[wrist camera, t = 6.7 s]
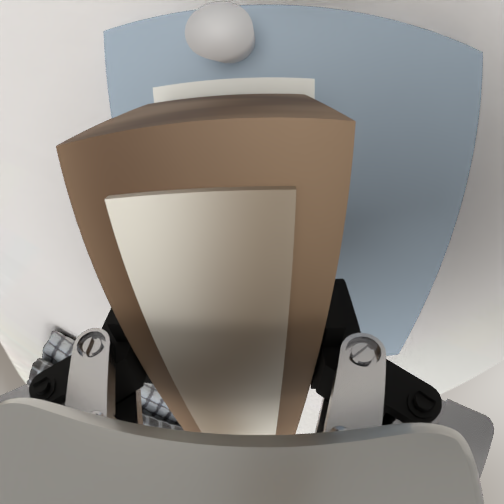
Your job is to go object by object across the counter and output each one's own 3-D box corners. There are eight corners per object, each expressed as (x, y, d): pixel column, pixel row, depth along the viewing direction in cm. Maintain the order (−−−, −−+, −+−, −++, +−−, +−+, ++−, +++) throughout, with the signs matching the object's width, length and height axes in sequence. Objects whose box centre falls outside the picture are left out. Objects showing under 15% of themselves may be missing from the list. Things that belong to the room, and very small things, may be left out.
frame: (304, 94, 8) (358, 123, 4) (288, 355, 15) (294, 440, 11) (147, 104, 8) (51, 148, 4) (199, 354, 16) (187, 438, 11)
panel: (472, 51, 8) (527, 58, 4) (395, 345, 19) (408, 387, 16) (112, 32, 8) (60, 27, 5) (180, 351, 20) (170, 396, 17)
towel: (207, 389, 24) (197, 469, 17) (150, 429, 33) (141, 477, 26) (51, 316, 19) (12, 391, 13) (51, 384, 28) (33, 431, 22)
